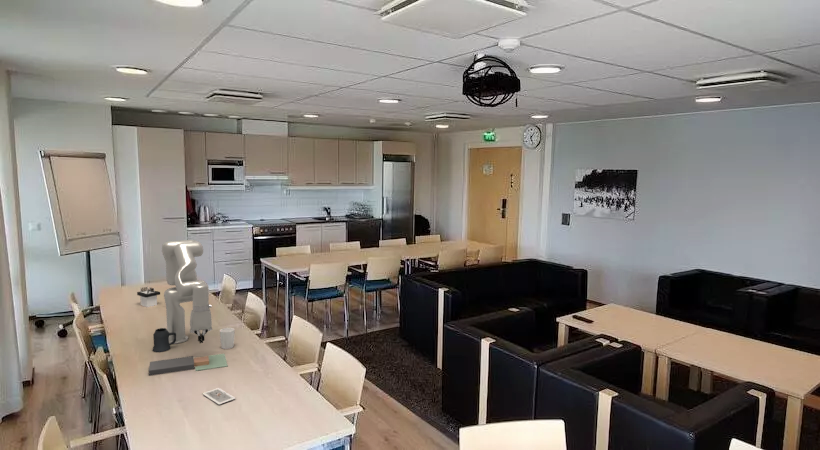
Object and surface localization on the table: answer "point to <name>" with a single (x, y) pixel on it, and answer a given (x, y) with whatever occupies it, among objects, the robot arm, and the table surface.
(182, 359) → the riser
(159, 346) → the mug
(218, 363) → the mat
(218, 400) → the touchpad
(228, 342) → the white cup
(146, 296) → the black-topped pedestal
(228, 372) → the table surface
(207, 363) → the terracotta tile
